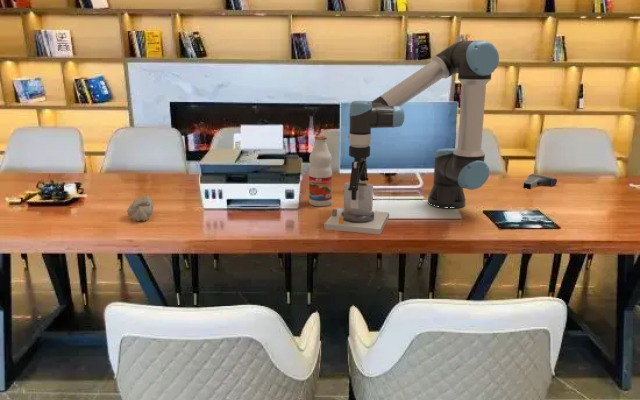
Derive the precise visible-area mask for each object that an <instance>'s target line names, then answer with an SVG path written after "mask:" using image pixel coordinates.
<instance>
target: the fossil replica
mask: <svg viewBox="0 0 640 400" xmlns="http://www.w3.org/2000/svg"><path fill="white" fill-rule="evenodd" d="M154 205H155V204H154V201H153V200H152V198H151V196H149V195H142V196H139V197H136V199H134V200H133V202H132V203H131V204H130V205H129V207H128V208H127V211H126V212H127V215H128V216H130V217H131V219H132V220H134V221H135V220H137V221H136V222H140V221H143V222H146V221H148V220H149V217H150V216H151V215H152V214H153V213H154ZM145 220H146V221H145Z"/></svg>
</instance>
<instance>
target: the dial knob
mask: <svg viewBox="0 0 640 400" xmlns="http://www.w3.org/2000/svg"><path fill="white" fill-rule="evenodd" d="M349 186H350V181H346V182H345V183H344V184H343V208H344V210H342V216H344V220H346V221H350V222H368V221H371V220H373V219H374V212H373V211H374V210H373V204H374V203H373V202H374V201H373V200H374V184H373V183H366V184H365V183H359V185H358V190H359V193H358V209H355V208H350V193H351V191H349V190H348V188H349ZM353 187H354V186H353Z"/></svg>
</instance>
